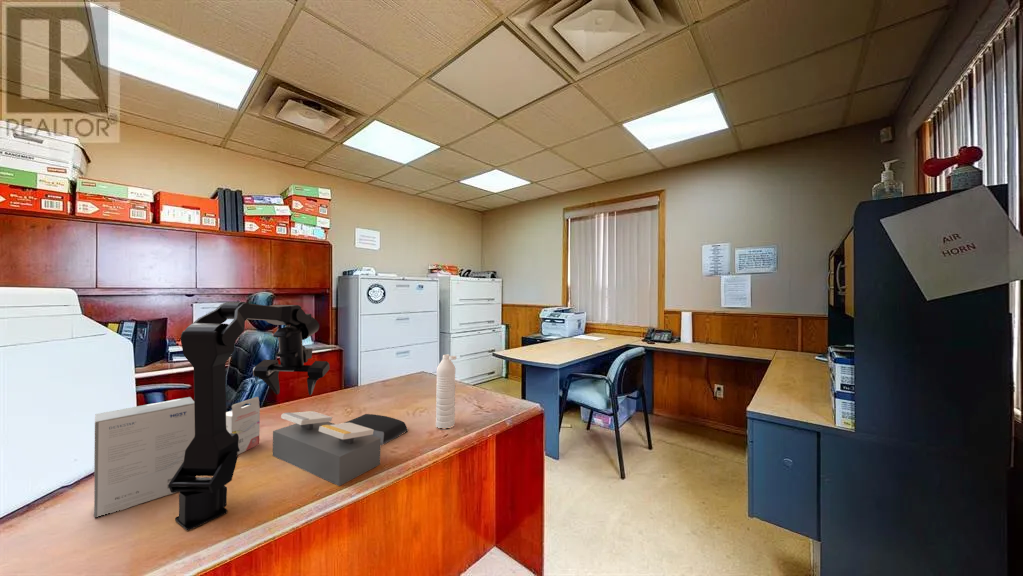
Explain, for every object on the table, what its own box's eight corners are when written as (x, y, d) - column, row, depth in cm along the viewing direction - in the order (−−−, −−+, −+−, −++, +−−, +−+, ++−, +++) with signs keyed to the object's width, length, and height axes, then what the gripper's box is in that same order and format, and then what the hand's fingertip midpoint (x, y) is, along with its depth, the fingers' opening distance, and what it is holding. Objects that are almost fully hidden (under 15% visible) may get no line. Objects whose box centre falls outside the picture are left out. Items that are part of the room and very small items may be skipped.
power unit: (339, 486, 81) (339, 448, 82) (272, 455, 96) (273, 423, 96) (380, 464, 92) (380, 430, 92) (314, 439, 106) (315, 411, 107)
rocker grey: (300, 425, 92) (302, 419, 92) (280, 418, 97) (282, 412, 97) (331, 421, 100) (332, 416, 100) (311, 415, 105) (312, 410, 105)
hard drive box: (190, 475, 85) (192, 396, 86) (196, 487, 81) (198, 402, 81) (92, 505, 73) (95, 412, 74) (92, 520, 69) (94, 421, 69)
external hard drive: (380, 447, 103) (380, 434, 103) (335, 436, 110) (335, 423, 110) (409, 431, 115) (409, 419, 115) (367, 422, 122) (367, 410, 122)
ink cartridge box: (246, 443, 104) (247, 394, 104) (259, 444, 103) (261, 396, 103) (217, 456, 95) (218, 403, 96) (231, 458, 94) (232, 405, 95)
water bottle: (432, 425, 119) (433, 354, 119) (448, 421, 123) (449, 352, 124) (445, 433, 112) (446, 358, 113) (461, 428, 117) (462, 355, 117)
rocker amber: (342, 439, 83) (344, 433, 84) (318, 431, 88) (319, 425, 88) (372, 434, 91) (373, 428, 91) (348, 426, 96) (349, 421, 96)
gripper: (335, 336, 108) (337, 381, 111) (271, 334, 105) (275, 379, 109) (320, 352, 97) (323, 400, 101) (249, 349, 94) (254, 399, 98)
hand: (294, 394), depth 102 cm, fingers open, 9 cm apart
